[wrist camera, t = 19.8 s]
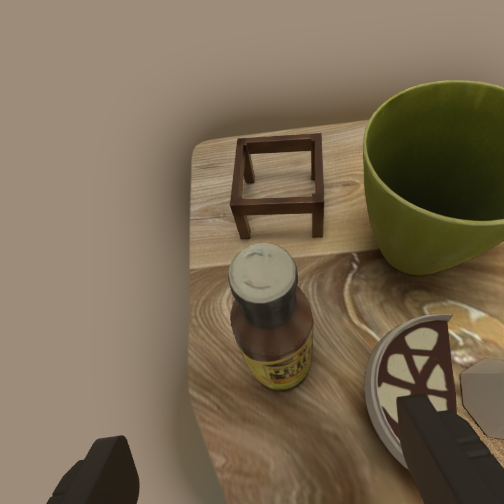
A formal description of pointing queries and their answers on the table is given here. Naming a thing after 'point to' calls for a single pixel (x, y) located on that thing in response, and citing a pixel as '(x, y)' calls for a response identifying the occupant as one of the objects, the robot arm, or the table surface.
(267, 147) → the open square stand
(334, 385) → the table surface
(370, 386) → the food container
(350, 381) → the table surface
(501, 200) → the flower pot
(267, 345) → the sauce bottle
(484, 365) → the flask
